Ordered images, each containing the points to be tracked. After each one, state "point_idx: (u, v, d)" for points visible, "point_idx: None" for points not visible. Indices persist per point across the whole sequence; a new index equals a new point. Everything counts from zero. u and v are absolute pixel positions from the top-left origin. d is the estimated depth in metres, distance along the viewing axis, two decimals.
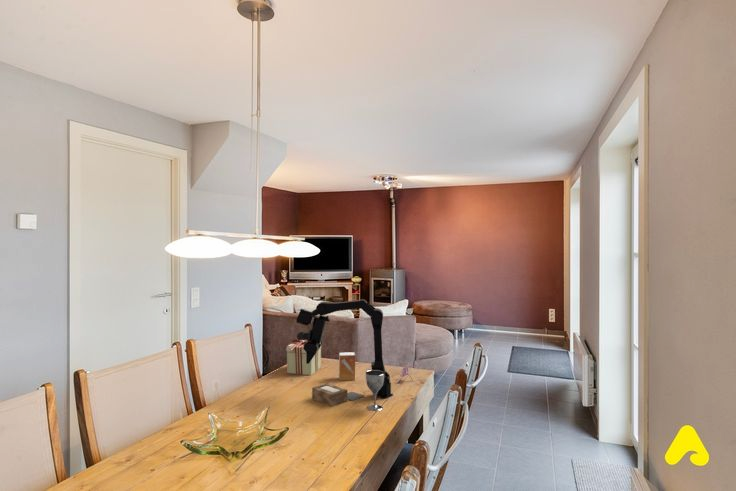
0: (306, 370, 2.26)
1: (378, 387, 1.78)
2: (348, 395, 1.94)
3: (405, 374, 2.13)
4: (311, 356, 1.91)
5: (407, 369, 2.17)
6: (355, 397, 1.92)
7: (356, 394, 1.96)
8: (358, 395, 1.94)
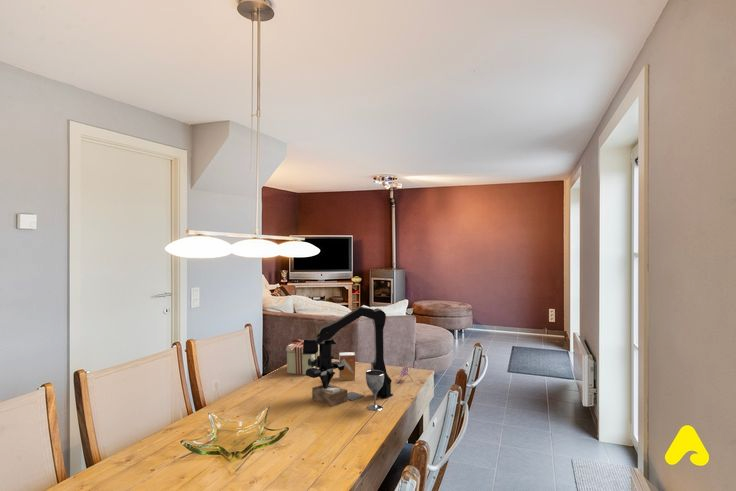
0: None
1: (378, 387, 1.78)
2: (348, 395, 1.94)
3: (405, 374, 2.12)
4: (324, 380, 1.90)
5: (407, 369, 2.17)
6: (355, 397, 1.92)
7: (356, 394, 1.96)
8: (358, 395, 1.94)
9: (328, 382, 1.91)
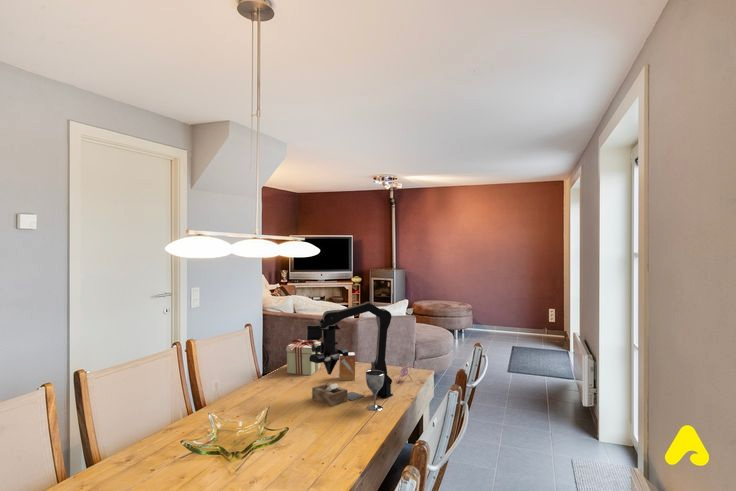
0: (306, 370, 2.26)
1: (378, 387, 1.78)
2: (348, 395, 1.94)
3: (404, 374, 2.12)
4: (328, 366, 1.88)
5: (406, 369, 2.17)
6: (355, 397, 1.92)
7: (356, 394, 1.96)
8: (358, 395, 1.94)
9: (332, 368, 1.89)
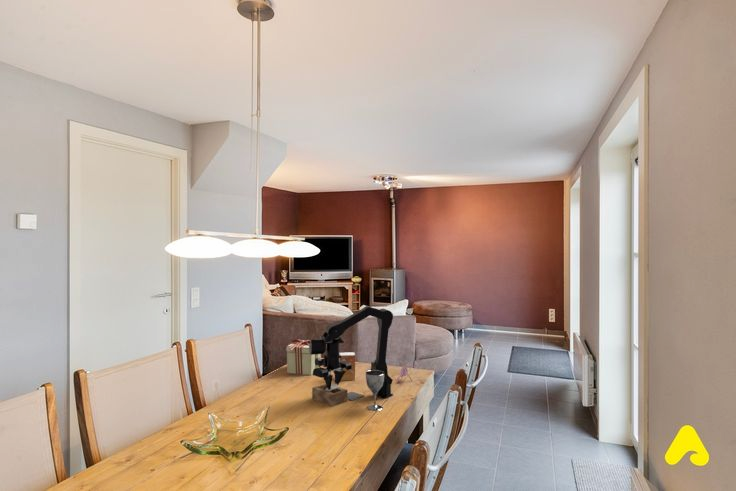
0: (306, 370, 2.26)
1: (378, 387, 1.78)
2: (348, 395, 1.94)
3: (404, 374, 2.12)
4: (328, 381, 1.85)
5: (406, 369, 2.17)
6: (355, 397, 1.92)
7: (356, 394, 1.96)
8: (358, 395, 1.94)
9: (339, 381, 1.89)
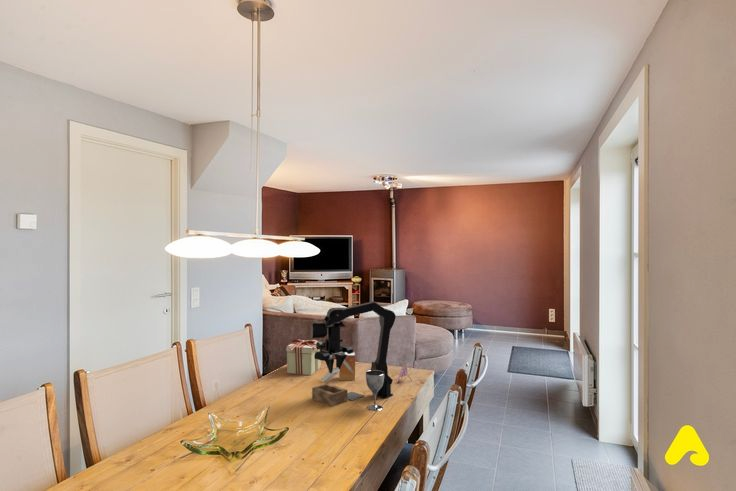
0: (306, 370, 2.26)
1: (378, 387, 1.78)
2: (348, 395, 1.94)
3: (404, 374, 2.12)
4: (330, 365, 1.85)
5: (406, 369, 2.17)
6: (355, 397, 1.92)
7: (356, 394, 1.96)
8: (358, 395, 1.94)
9: (340, 364, 1.89)
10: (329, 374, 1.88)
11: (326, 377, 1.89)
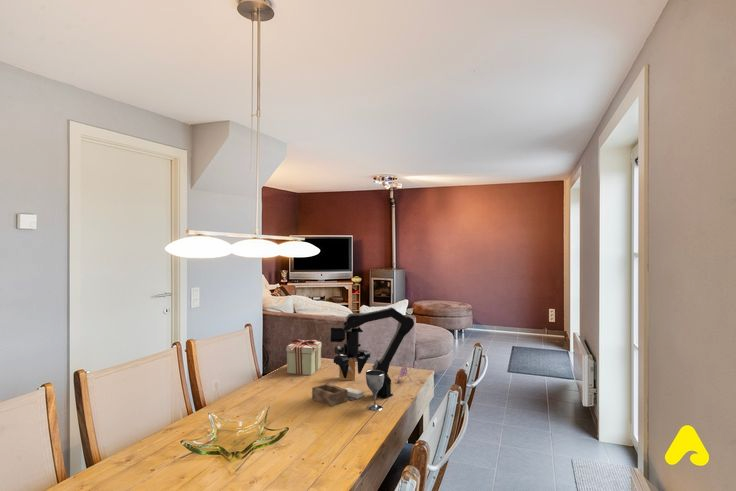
0: (306, 370, 2.26)
1: (378, 387, 1.78)
2: None
3: (404, 374, 2.12)
4: (344, 370, 1.89)
5: (406, 369, 2.17)
6: None
7: None
8: None
9: (362, 367, 1.97)
10: (352, 395, 1.92)
11: (348, 394, 1.93)
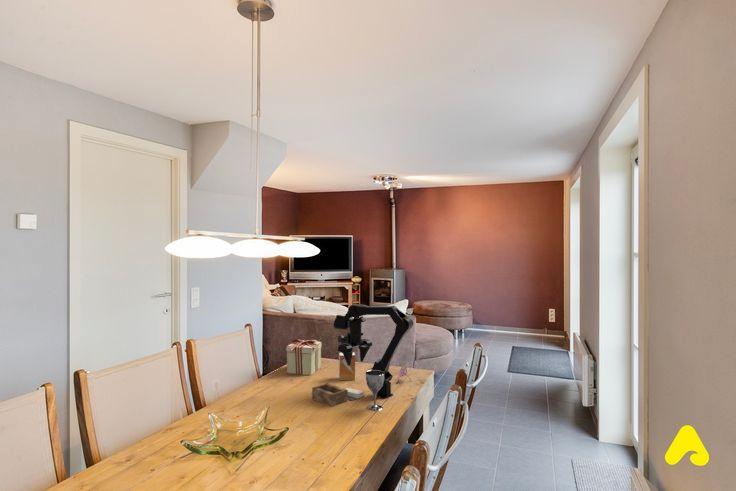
0: (306, 370, 2.26)
1: (378, 387, 1.78)
2: None
3: (404, 374, 2.12)
4: (348, 358, 1.96)
5: (405, 369, 2.17)
6: None
7: None
8: None
9: (364, 356, 2.04)
10: (352, 395, 1.92)
11: (348, 394, 1.93)
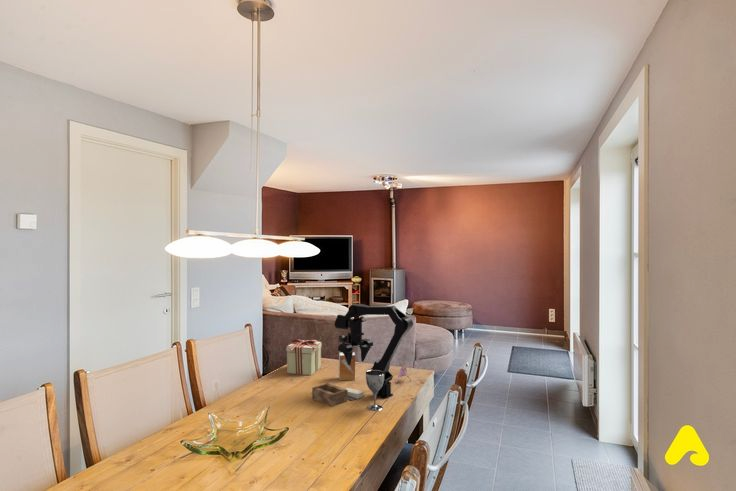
0: (306, 370, 2.26)
1: (378, 387, 1.78)
2: None
3: (403, 374, 2.12)
4: (348, 357, 1.97)
5: (405, 369, 2.17)
6: None
7: None
8: None
9: (365, 355, 2.05)
10: (352, 395, 1.92)
11: (348, 394, 1.93)
